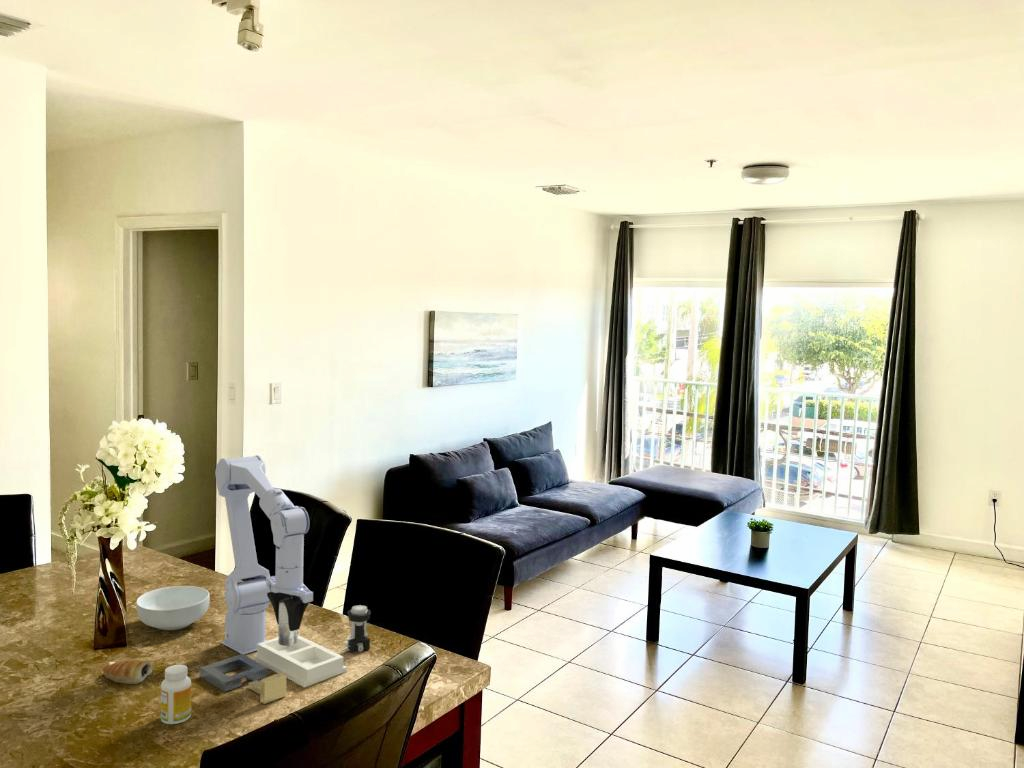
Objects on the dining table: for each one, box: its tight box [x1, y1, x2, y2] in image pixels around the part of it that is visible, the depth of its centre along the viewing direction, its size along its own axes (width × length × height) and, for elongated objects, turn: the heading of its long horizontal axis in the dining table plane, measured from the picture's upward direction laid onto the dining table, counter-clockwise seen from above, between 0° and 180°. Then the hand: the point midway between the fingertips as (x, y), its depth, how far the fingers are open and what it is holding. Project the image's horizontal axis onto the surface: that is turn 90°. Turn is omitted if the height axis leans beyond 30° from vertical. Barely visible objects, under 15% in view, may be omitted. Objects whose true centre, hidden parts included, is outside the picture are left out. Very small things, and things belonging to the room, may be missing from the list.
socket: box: [199, 653, 269, 693], centre depth 172 cm, size 10×10×2 cm
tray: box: [253, 634, 348, 688], centre depth 179 cm, size 19×11×4 cm, turn 50°
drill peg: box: [277, 598, 299, 646], centre depth 174 cm, size 4×4×9 cm
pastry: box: [102, 658, 153, 685], centre depth 171 cm, size 9×7×4 cm
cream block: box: [247, 672, 287, 705], centre depth 165 cm, size 8×5×4 cm, turn 50°
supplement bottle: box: [160, 664, 192, 725], centre depth 154 cm, size 5×5×10 cm
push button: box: [341, 604, 372, 653], centre depth 188 cm, size 7×5×10 cm
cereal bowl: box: [135, 585, 211, 631], centre depth 199 cm, size 17×17×7 cm
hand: (288, 626), depth 174 cm, fingers closed on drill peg, 4 cm apart
